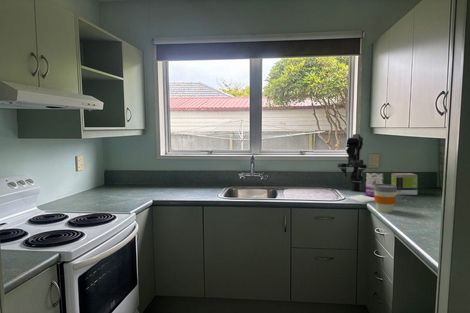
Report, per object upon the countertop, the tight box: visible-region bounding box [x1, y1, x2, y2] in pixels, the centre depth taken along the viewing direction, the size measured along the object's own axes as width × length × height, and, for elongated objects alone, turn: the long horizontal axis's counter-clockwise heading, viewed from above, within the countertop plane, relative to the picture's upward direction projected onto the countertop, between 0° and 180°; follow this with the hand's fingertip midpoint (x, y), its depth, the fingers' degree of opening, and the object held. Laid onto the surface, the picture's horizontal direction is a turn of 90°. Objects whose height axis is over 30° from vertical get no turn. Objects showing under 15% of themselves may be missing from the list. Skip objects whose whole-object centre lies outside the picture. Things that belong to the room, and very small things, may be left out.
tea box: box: [390, 172, 419, 196], centre depth 244 cm, size 15×10×15 cm
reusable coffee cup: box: [373, 183, 397, 214], centre depth 196 cm, size 13×13×15 cm
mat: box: [344, 194, 375, 203], centre depth 228 cm, size 16×16×1 cm
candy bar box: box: [365, 172, 384, 198], centre depth 234 cm, size 11×5×16 cm, turn 62°
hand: (351, 178), depth 228 cm, fingers open, 9 cm apart
